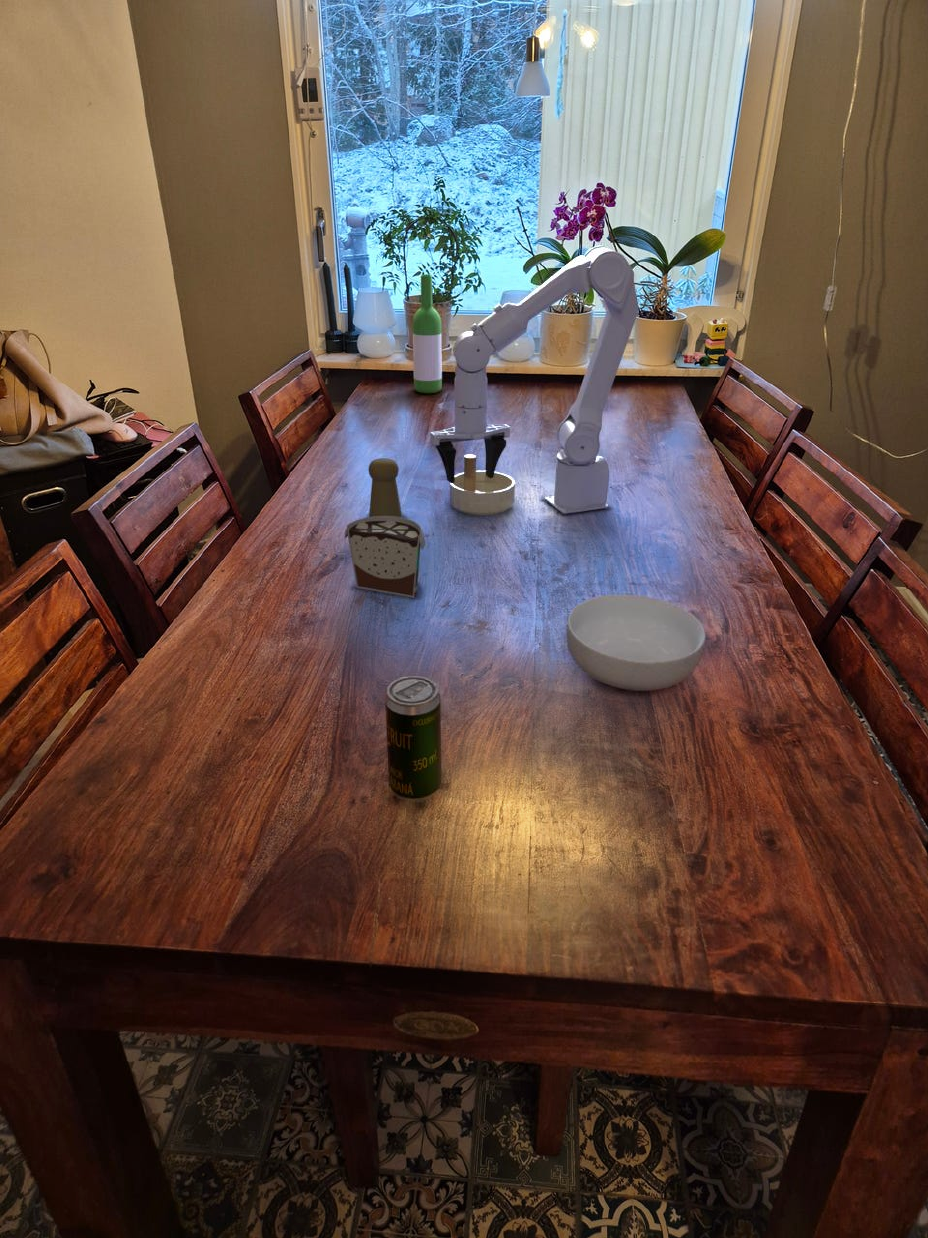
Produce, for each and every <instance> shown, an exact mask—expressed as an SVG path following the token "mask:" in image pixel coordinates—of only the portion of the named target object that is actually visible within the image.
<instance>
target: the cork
mask: <svg viewBox="0 0 928 1238" xmlns="http://www.w3.org/2000/svg"><path fill="white" fill-rule="evenodd" d="M399 472H400V471H399V465H398V463H397V461H396V460H395V459H392V458H388V457H381V458H375V459H373V460H372V461H370V463H369V465H368V474H369V477H370V479H371V489H370V502H369V512H368V517H373V516H396V517H402V518H403V514H402V507H401V501H400V495H399V490H398V484H397V477H398V475H399Z"/></svg>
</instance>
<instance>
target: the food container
mask: <svg viewBox="0 0 928 1238" xmlns="http://www.w3.org/2000/svg"><path fill="white" fill-rule="evenodd" d="M347 538H348V545H349V551H350V557H351V562H352V569H353V575H354V581H355V586H356V589H362V590H367V591H374V592H378V593H383V594H384V593H385V594H389V595H390V594H391V595H396V596H402V597H408V598H413V599H414V598H415V597H416V596H417V593H418V582H419V572H420V571H419V569H420V560H421V559H420V558H421V551H423V550H424V549H425V547H426V538H425V534H424V531H423V529H422V527H421V526H420V525H419V523H418V522H416V521H414V520H412V519H410V518H405V517H403V516H402V517H396V516H373V517H369V516H367V517H363V518H359V519H356V520H353V521H352V522H349V523H347V524H346V528H345V530H344V539H347Z"/></svg>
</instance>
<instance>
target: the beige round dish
mask: <svg viewBox="0 0 928 1238" xmlns="http://www.w3.org/2000/svg"><path fill="white" fill-rule="evenodd" d="M476 490H478V491H479V492H472V491H467V490H464V472H461V473H457V474H455V481H454V483H450V482H449V504H450V505H451V506H452V507H453V508H454V509H455V510H457V511H459V512H462V513H463V514H468V515H473V516H494V515H498V514H503V513H504V512H507V511H508V510H509V509H510V508H512V507H513V506H514V505H515V495H516V480H515V479H514V478H513V477H512V476H510V475H508V474H505V473H502V472H498V471H495V472H494V476H493V478H489V477H488V476H487V475H486V471H485V470H476Z"/></svg>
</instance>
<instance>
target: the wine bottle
mask: <svg viewBox="0 0 928 1238" xmlns="http://www.w3.org/2000/svg"><path fill="white" fill-rule="evenodd" d="M442 348H443V347H442V319H441V316H440V314H439V311H437V310H436V309H435V308H434V307H433V275H432V274H429V273H427V274H426V273H425V274H421V275H420V308H418V310H416V311H415V314H414V315H413V318H412V357H413V358H412V361H413V362H412V364H413V388H414V390H415V392H416V393H417V392H418V393H420V394H435V393H439V392H440V391H441V390H442V385H443V369H442V368H443V367H442V365H443V363H442V362H443V361H442V359H443V358H442V357H443V355H442V353H443V352H442Z"/></svg>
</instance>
